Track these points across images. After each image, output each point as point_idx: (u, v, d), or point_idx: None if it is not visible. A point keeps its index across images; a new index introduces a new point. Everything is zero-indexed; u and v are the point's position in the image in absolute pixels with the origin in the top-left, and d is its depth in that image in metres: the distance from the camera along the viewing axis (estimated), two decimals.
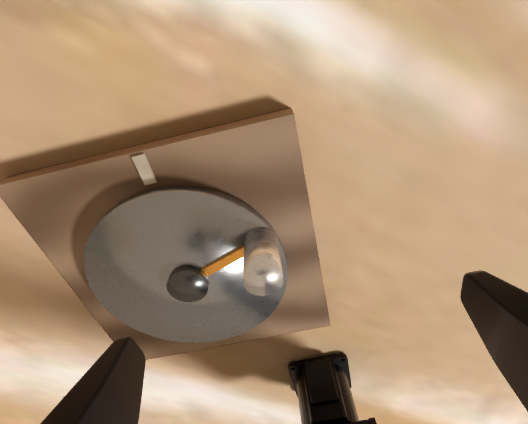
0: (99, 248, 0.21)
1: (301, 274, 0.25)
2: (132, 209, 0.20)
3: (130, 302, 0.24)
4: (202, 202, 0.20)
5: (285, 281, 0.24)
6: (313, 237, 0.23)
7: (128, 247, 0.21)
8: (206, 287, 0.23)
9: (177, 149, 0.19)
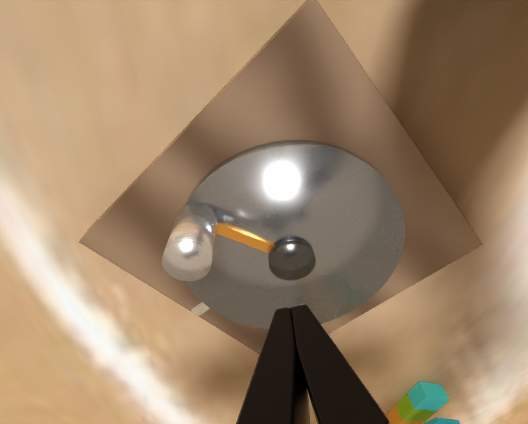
0: None
1: (231, 126, 0.17)
2: (233, 314, 0.23)
3: (348, 287, 0.22)
4: None
5: (236, 162, 0.17)
6: (169, 150, 0.18)
7: (275, 307, 0.23)
8: (282, 248, 0.19)
9: (172, 294, 0.24)
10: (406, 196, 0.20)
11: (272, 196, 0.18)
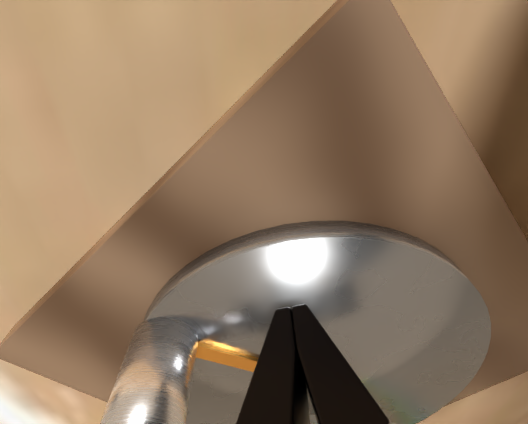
0: None
1: (219, 200, 0.10)
2: None
3: (392, 409, 0.15)
4: None
5: (226, 263, 0.10)
6: (116, 236, 0.11)
7: None
8: None
9: None
10: (489, 291, 0.13)
11: None
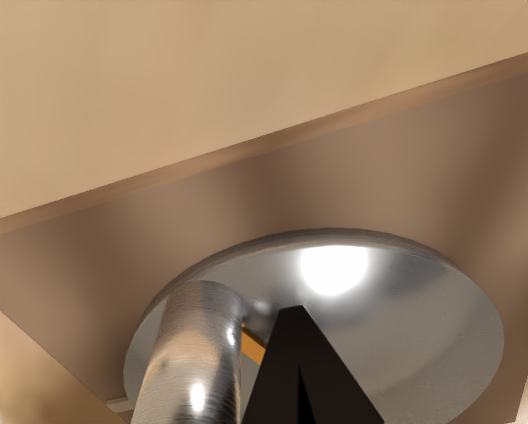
0: None
1: (342, 183, 0.09)
2: None
3: None
4: (138, 381, 0.12)
5: (330, 251, 0.09)
6: (212, 173, 0.09)
7: None
8: None
9: (86, 376, 0.14)
10: None
11: (347, 315, 0.10)
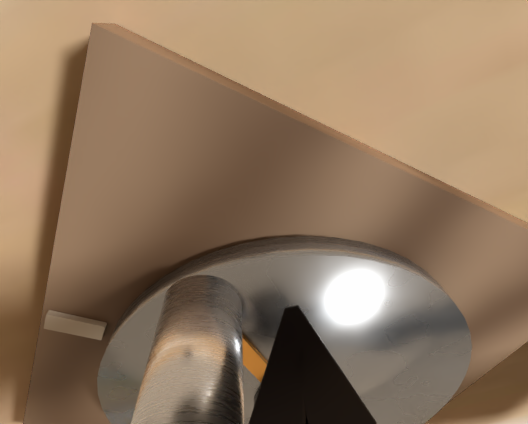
0: None
1: (462, 250, 0.11)
2: None
3: None
4: (113, 376, 0.11)
5: (338, 260, 0.09)
6: (414, 180, 0.09)
7: None
8: None
9: (65, 270, 0.10)
10: None
11: (339, 324, 0.11)
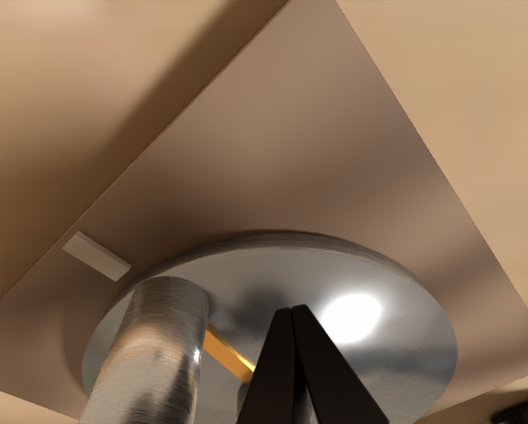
0: None
1: (473, 306, 0.13)
2: None
3: None
4: (97, 374, 0.12)
5: (299, 257, 0.09)
6: (476, 235, 0.11)
7: None
8: None
9: (125, 196, 0.09)
10: None
11: None
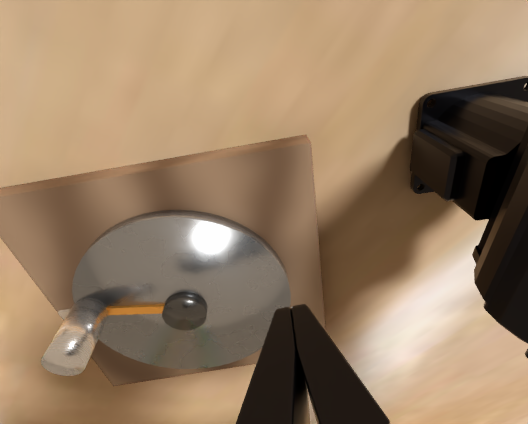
0: (231, 355, 0.25)
1: (197, 188, 0.19)
2: (181, 364, 0.25)
3: (259, 312, 0.23)
4: (126, 351, 0.24)
5: (82, 261, 0.19)
6: (130, 176, 0.18)
7: (210, 348, 0.25)
8: (165, 309, 0.21)
9: (47, 290, 0.22)
10: (296, 299, 0.24)
11: (130, 272, 0.20)
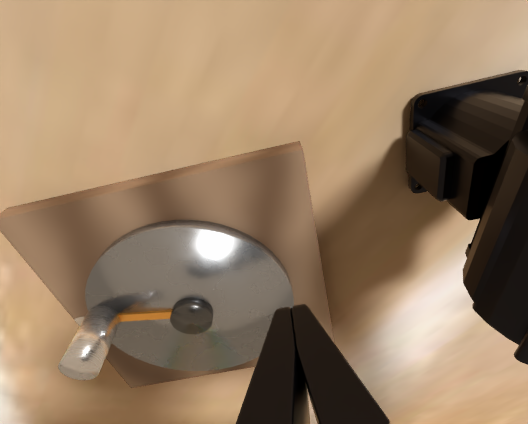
0: (240, 357, 0.26)
1: (196, 198, 0.19)
2: (193, 367, 0.26)
3: (264, 315, 0.23)
4: (139, 355, 0.25)
5: (92, 272, 0.20)
6: (132, 190, 0.19)
7: (219, 350, 0.25)
8: (172, 314, 0.22)
9: (63, 299, 0.23)
10: (300, 301, 0.25)
11: (138, 280, 0.21)
